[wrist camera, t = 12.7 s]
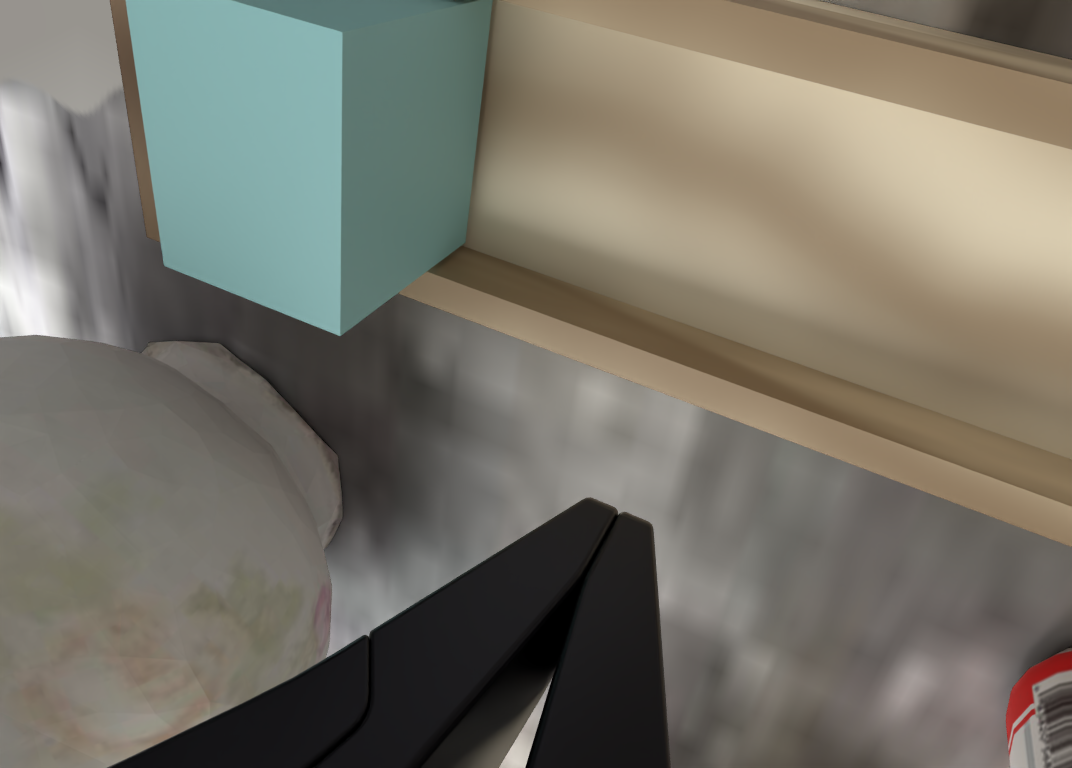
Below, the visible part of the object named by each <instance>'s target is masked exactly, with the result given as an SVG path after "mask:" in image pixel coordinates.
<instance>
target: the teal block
mask: <svg viewBox="0 0 1072 768" xmlns="http://www.w3.org/2000/svg"><path fill="white" fill-rule="evenodd" d="M492 2H493V0H126V7H127V14H128V21H129V28H130V35H131V41H132V48H133V55H134V62H135V69H136V76H137V83H138V90H139V97H140V104H141V111H142V117H143V124H144V131H145V138H146V145H147V152H148V159H149V166H150V173H151V180H152V187H153V193H154V200H155V207H156V214H157V221H158V228H159V235H160V242H161V249H162V256H163V263H164V266H166V267H168V268H171V269H173V270H176V271H178V272H181V273H183V274H186V275H188V276H191V277H193V278H196V279H198V280H201V281H203V282H206V283H208V284H211V285H213V286H216V287H218V288H221V289H223V290H226V291H228V292H231V293H233V294H236V295H238V296H241V297H243V298H246V299H248V300H251V301H253V302H256V303H258V304H261V305H263V306H266V307H268V308H271V309H273V310H276V311H278V312H281V313H283V314H286V315H288V316H291V317H293V318H296V319H298V320H301V321H303V322H306V323H308V324H311V325H313V326H316V327H318V328H321V329H323V330H326V331H328V332H331V333H333V334H336V335H338V336H341V335H343V334H344V333H345V332H347V331H348V330H349V329H351V328H352V327H353V326H355V325H356V324H357V323H359V322H360V321H361V320H363V319H364V318H365V317H367V316H368V315H369V314H371V313H372V312H373V311H375V310H376V309H377V308H379V307H380V306H381V305H383V304H384V303H385V302H387V301H388V300H389V299H391V298H392V297H393V296H395V295H396V294H397V293H399V292H400V291H401V290H403V289H404V288H405V287H407V286H408V285H409V284H411V283H412V282H413V281H415V280H416V279H417V278H419V277H420V276H421V275H423V274H424V273H425V272H427V271H428V270H429V269H431V268H432V267H433V266H435V265H436V264H437V263H439V262H440V261H441V260H443V259H444V258H445V257H447V256H448V255H449V254H451V253H452V252H453V251H455V250H456V249H457V248H459V247H460V246H461V245H463V244H464V243H465V242H466V233H467V224H468V215H469V206H470V197H471V188H472V180H473V171H474V162H475V153H476V144H477V135H478V126H479V117H480V108H481V99H482V91H483V82H484V73H485V64H486V55H487V46H488V37H489V28H490V19H491V11H492Z"/></svg>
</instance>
